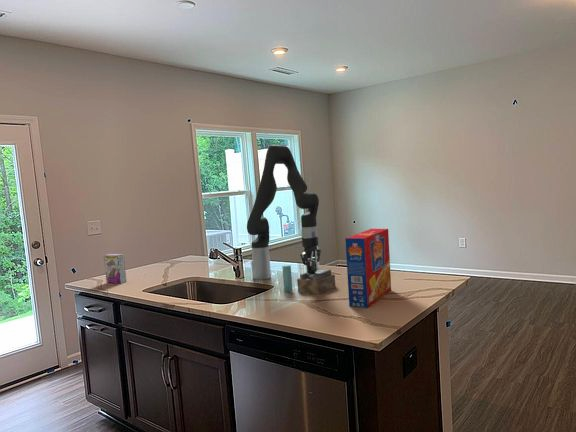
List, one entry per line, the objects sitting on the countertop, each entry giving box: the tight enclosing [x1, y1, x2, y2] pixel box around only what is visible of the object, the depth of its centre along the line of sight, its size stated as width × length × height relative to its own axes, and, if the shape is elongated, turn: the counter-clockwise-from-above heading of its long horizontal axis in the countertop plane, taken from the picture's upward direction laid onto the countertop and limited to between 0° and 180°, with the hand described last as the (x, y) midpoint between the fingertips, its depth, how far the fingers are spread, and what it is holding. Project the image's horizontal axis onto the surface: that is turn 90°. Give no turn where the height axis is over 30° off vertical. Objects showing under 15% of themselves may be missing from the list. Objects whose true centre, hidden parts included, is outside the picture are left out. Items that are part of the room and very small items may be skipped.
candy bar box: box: [103, 253, 127, 285], centre depth 255 cm, size 11×5×16 cm, turn 65°
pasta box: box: [344, 228, 392, 309], centre depth 188 cm, size 28×8×28 cm, turn 148°
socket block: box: [296, 269, 336, 295], centre depth 210 cm, size 12×14×8 cm
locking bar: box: [307, 260, 327, 278], centre depth 210 cm, size 5×11×8 cm, turn 142°
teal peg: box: [281, 264, 293, 293], centre depth 210 cm, size 4×4×12 cm
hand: (312, 272), depth 207 cm, fingers closed on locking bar, 3 cm apart
